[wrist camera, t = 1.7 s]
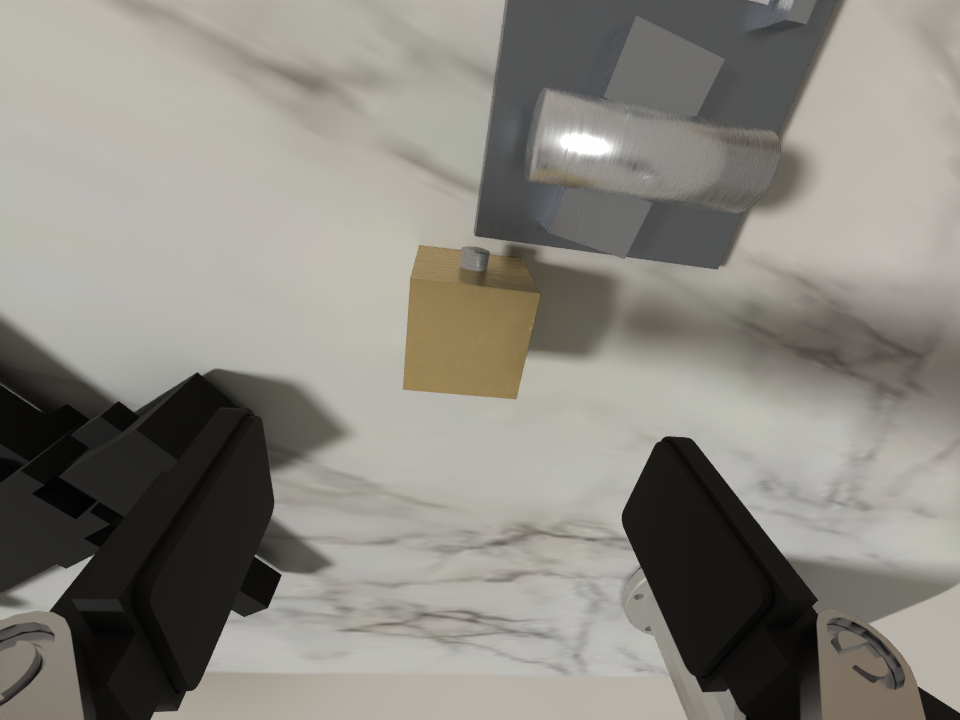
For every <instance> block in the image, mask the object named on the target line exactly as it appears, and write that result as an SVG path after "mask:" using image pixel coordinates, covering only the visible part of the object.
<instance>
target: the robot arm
mask: <svg viewBox="0 0 960 720" xmlns="http://www.w3.org/2000/svg"><path fill="white" fill-rule="evenodd" d="M273 508H274V495H273V489H272V482H271V476H270V470H269V463H268V457H267V450H266V444H265V437H264V431H263V424H262V419H261V418H260V417H259V416H254V414H253V412H252V410H250V409H240V408H225V407H222V408H219V409H218V410H217V411H216V412H215V414H214V415H213V416H212V418H211V419H210V420H209V421H208V423H207V424H206V425H205V427H204V428H203V429H202V430H201V432H200V433H199V434H198V436H197V437H196V438H195V440H194V441H193V442H192V443H191V445H190V446H189V447H188V449H187V450H186V451H185V453H184V454H183V455H182V456H181V458H180V459H179V460H178V462H177V463H176V464H175V465H174V467H173V468H168V469H166V470H164V471H162V472H161V473H160V474H159V475H158V476H157V477H156V478H155V480H154V481H153V482H152V483H151V485H150V486H149V487H148V488H147V490H146V491H145V492H144V493H143V495H142V496H141V497H140V499H139V500H138V501H137V502H136V504H135V505H134V506H133V507H132V509H131V510H130V511H129V512H128V514H127V515H126V516H125V517H124V519H123V520H122V521H121V522H120V524H119V525H118V526H117V527H116V529H115V530H114V531H113V532H112V534H111V535H110V536H109V537H108V539H107V540H106V541H105V542H104V544H103V545H102V546H101V547H100V549H99V550H98V551H97V552H96V554H95V555H94V556H93V557H92V559H91V560H90V561H89V563H88V564H87V565H86V566H85V568H84V569H83V570H82V571H81V573H80V574H79V575H78V576H77V578H76V579H75V580H74V581H73V583H72V584H71V585H70V586H69V588H68V589H67V590H66V591H65V593H64V594H63V595H62V596H61V598H60V599H59V600H58V601H57V603H56V604H55V605H54V606H53V608H52V609H51V610H50V611H49V612H43V611H34V612H29V613H23V614H18V615H14V616H12V617H9V618H6V619H4V620H1V621H0V720H150V719H151V717H152V715H153V713H154V712H163V711H177V710H178V708H179V706H180V704H181V701H182V699H183V697H184V695H185V693H186V691H192V690H194V689H195V688H196V687H197V686H198V684H199V683H200V681H201V679H202V677H203V674H204V672H205V670H206V667H207V665H208V663H209V660H210V658H211V656H212V653H213V651H214V649H215V646H216V644H217V642H218V639H219V637H220V635H221V632H222V630H223V628H224V625H225V623H226V621H227V618H228V616H229V614H230V611H231V609H232V607H233V605H234V602H235V600H236V598H237V595H238V593H239V591H240V588H241V586H242V584H243V581H244V579H245V577H246V574H247V572H248V570H249V567H250V565H251V563H252V560H253V558H254V556H255V553H256V551H257V549H258V546H259V544H260V542H261V539H262V537H263V535H264V532H265V530H266V528H267V525H268V523H269V521H270V518H271V516H272V513H273ZM622 524H623V527H624V530H625V532H626V534H627V536H628V539H629V541H630V543H631V545H632V548H633V550H634V552H635V554H636V557H637V559H638V561H639V563H640V566H641V568H640V569H639V570H638V571H637V572H636V573H635V574H634V575H633V576H632V577H631V578H630V580H629V581H628V583H627V585H626V586H625V588H624V591H623V594H622V605H623V608H624V611H625V614H626V617H627V619H628V620H629V622H630V623H631V624H632V625H633V626H634V627H635V628H637V629H639V630H640V631H642V632H644V633H647V634H651V635H654V637H655V640H656V642H657V645H658V647H659V650H660V652H661V655H662V657H663V659H664V662H665V664H666V667H667V669H668V672H669V674H670V677H671V679H672V682H673V684H674V687H675V689H676V692H677V694H678V697H679V699H680V702H681V704H682V706H683V709H684V711H685V714H686V716H687V719H688V720H960V713H959V712H957V711H956V710H954V709H952V708H951V707H949V706H948V705H946V704H945V703H943V702H941V701H940V700H938V699H937V698H935V697H934V696H932V695H930V694H929V693H927V692H926V691H924V690H923V689H921V688H920V687H918V686H917V683H916V680H915V678H914V675H913V672H912V670H911V668H910V666H909V665H908V664H907V662H906V661H905V659H904V658H903V656H902V655H901V653H900V652H899V651H898V650H897V649H896V648H895V647H894V646H893V645H892V643H891V642H890V641H889V640H888V639H886V638H885V637H884V636H883V635H882V634H881V633H879V632H878V631H877V630H876V629H875V628H873V627H872V626H870V625H869V624H867V623H866V622H864V621H863V620H861V619H860V618H858V617H856V616H853V615H851V614H849V613H847V612H844V611H840V610H835V609H829V610H823V611H822V612H821V613H820V614H819V615H818V614H817V613H816V611H815V610H814V609H813V607H812V606H813V605H814V604H815V603H816V602H817V601H818V599H817V598H816V597H815V596H814V594H813V593H812V592H811V591H810V589H809V588H808V587H807V585H806V584H805V583H804V582H803V580H802V579H801V578H800V576H799V575H798V574H797V573H796V571H795V570H794V569H793V567H792V566H791V565H790V564H789V562H788V561H787V560H786V559H785V557H784V556H783V555H782V553H781V552H780V551H779V550H778V548H777V547H776V546H775V544H774V543H773V542H772V541H771V539H770V538H769V537H768V535H767V534H766V533H765V532H764V530H763V529H762V528H761V526H760V525H759V524H758V523H757V521H756V520H755V519H754V518H753V516H752V515H751V514H750V512H749V511H748V510H747V509H746V507H745V506H744V505H743V503H742V502H741V501H740V500H739V498H738V497H737V496H736V494H735V493H734V492H733V491H732V489H731V488H730V487H729V486H728V484H727V483H726V482H725V480H724V479H723V478H722V477H721V475H720V474H719V473H718V471H717V470H716V469H715V468H714V466H713V465H712V464H711V462H710V461H709V460H708V459H707V457H706V456H705V455H704V453H703V452H702V451H701V450H700V448H699V447H698V446H697V445H696V443H695V442H694V441H693V440H692V439H690V438H685V437H670V436H668V437H664V438H663V439H662V440H661V442H658V443H656V445H655V446H654V448H653V450H652V452H651V455H650V457H649V459H648V461H647V463H646V465H645V467H644V469H643V471H642V473H641V475H640V477H639V479H638V481H637V483H636V485H635V487H634V490H633V492H632V494H631V496H630V498H629V500H628V502H627V504H626V506H625V508H624V510H623V513H622Z"/></svg>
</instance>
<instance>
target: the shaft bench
mask: <svg viewBox="0 0 960 720" xmlns="http://www.w3.org/2000/svg"><path fill="white" fill-rule="evenodd" d="M836 1H837V0H506V2H505V9H504V16H503V24H502V31H501V38H500V45H499V53H498V60H497V67H496V74H495V82H494V89H493V96H492V104H491V111H490V118H489V125H488V133H487V140H486V147H485V154H484V162H483V169H482V176H481V183H480V191H479V198H478V205H477V213H476V220H475V227H474V234H475V236H478V237H486V238H493V239H500V240H507V241H515V242H522V243H529V244H536V245H544V246H551V247H558V248H566V249H573V250H580V251H587V252H595V253H602V254H609V255H615V256H618V257H620V258H623V259H625V257H631V258H638V259H646V260H653V261H660V262H667V263H675V264H682V265H689V266H697V267H704V268H711V269H718V268H719V265H720V263H721V261H722V259H723V256H724V254H725V252H726V250H727V247H728V245H729V243H730V241H731V238H732V236H733V234H734V232H735V229H736V227H737V225H738V223H739V220H740V218H741V216H742V214H743V211H745V210H747V209H748V208H750V207H751V206H752V205H754V204H755V203H756V202H757V201H758V200H759V199H760V198H761V197H762V195H763V194H764V193H765V191H766V190H767V189H768V187H769V185H770V184H771V182H772V180H773V178H774V176H775V173H776V171H777V168H778V164H779V160H780V153H781V147H780V141H779V138H778V136H777V135H778V132H779V130H780V128H781V126H782V123H783V121H784V119H785V117H786V114H787V112H788V110H789V107H790V105H791V103H792V101H793V98H794V96H795V94H796V92H797V89H798V87H799V85H800V83H801V80H802V78H803V76H804V74H805V71H806V69H807V67H808V65H809V62H810V60H811V58H812V56H813V53H814V51H815V49H816V47H817V44H818V42H819V40H820V38H821V35H822V33H823V31H824V29H825V26H826V24H827V22H828V20H829V17H830V15H831V13H832V11H833V8H834V6H835V4H836Z"/></svg>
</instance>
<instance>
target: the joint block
mask: <svg viewBox="0 0 960 720" xmlns="http://www.w3.org/2000/svg"><path fill="white" fill-rule="evenodd" d="M540 295H541V293H540V291H539V290H538V288H537V286H536V284H535V282H534V281H533V279H532V277H531V275H530V273H529V272H528V270H527V268H526V266H525V265H524V263H523V261H522V259H520V258H513V257H505V256H498V255H490V252H489V251H488V250H486V249H483V248H478V247H463V248H462V251H460V250H452V249H445V248H437V247H429V246H422V245H419V247H418V251H417V255H416V259H415V263H414V266H413V270H412V274H411V278H410V293H409V308H408V323H407V338H406V353H405V368H404V383H403V390H414V391H426V392H438V393H450V394H461V395H473V396H485V397H497V398H508V399H516V398H517V394H518V389H519V385H520V381H521V376H522V372H523V368H524V364H525V359H526V355H527V351H528V346H529V342H530V338H531V334H532V329H533V325H534V321H535V316H536V312H537V308H538V303H539V299H540Z"/></svg>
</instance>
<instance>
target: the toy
mask: <svg viewBox="0 0 960 720" xmlns="http://www.w3.org/2000/svg"><path fill="white" fill-rule="evenodd" d="M222 407H225V408H238V407H237V406H235V405H234V404H233V403H232V402H231V401H230V400H229V399H227V398H226V397H225V396H224V395H223V394H222V393H221V392H219V391H218V390H217V389H216V388H215V387H214V386H213V385H211V384H210V383H209V382H208V381H207V380H206V379H205V378H203V377H202V376H201V375H200V374H199V373H198V372H197V373H196V374H194V375H193V376H191V377H189V378H188V379H186V380H185V381H183V382H181V383H180V384H178V385H177V386H175V387H174V388H172V389H170V390H169V391H167V392H166V393H164V394H162V395H161V396H159V397H158V398H156V399H155V400H153V401H151V402H150V403H148V404H147V405H145V406H143V407H142V408H140V409H139V410H137V411H136V412H132V411H131V410H130V409H128V408H127V407H126V406H124V405H123V404H122V403H120V402H119V401H118V402H117V403H115V404H114V405H112V406H111V407H109V408H107V409H106V410H104V411H103V412H101V413H100V414H98V415H97V416H95V417H94V418H92V419H91V420H89V419H87V418H86V417H84V416H83V415H82V414H80V413H79V412H77V411H76V410H75V409H73V408H72V407H70V406H69V405H65V406H64V407H62V408H61V409H59V410H58V411H56V412H55V413H53V414H52V415H50V416H49V417H47V416H46V415H44V414H43V413H41V412H40V411H38V410H37V409H35V408H34V407H33V406H31V405H30V404H28V403H27V402H25V401H24V400H22V399H21V398H19V397H18V396H16V395H15V394H13V393H12V392H10V391H9V390H7V389H6V388H4V387H3V386H1V385H0V593H1V592H3V591H5V590H7V589H9V588H11V587H13V586H15V585H17V584H19V583H21V582H23V581H24V580H26V579H28V578H30V577H32V576H34V575H36V574H38V573H40V572H42V571H44V570H46V569H48V568H49V567H51V566H53V565H55V564H58V565H60V566H62V567H64V568H66V569H67V568H68V567H70V566H72V565H74V564H76V563H78V562H80V561H82V560H84V559H86V558H88V557H90V556H92V555H94V554H96V552H97V551H98V550H99V549H100V547H101V546H102V545H103V544H104V542H105V541H106V540H107V539H108V537H109V536H110V535H111V534H112V532H113V531H114V530H115V529H116V527H117V526H118V525H119V524H120V522H121V521H122V520H123V519H124V517H125V516H126V515H127V514H128V512H129V511H130V510H131V509H132V507H133V506H134V505H135V504H136V502H137V501H138V500H139V499H140V497H141V496H142V495H143V493H144V492H145V491H146V490H147V488H148V487H149V486H150V485H151V483H152V482H153V481H154V480H155V478H156V477H157V476H158V475H159V474H160V473H161V472H162V471H164V470H166V469H168V468H173V467H174V465H175V464H176V463H177V462H178V460H179V459H180V458H181V456H182V455H183V454H184V453H185V451H186V450H187V449H188V447H189V446H190V445H191V443H192V442H193V441H194V440H195V438H196V437H197V436H198V434H199V433H200V432H201V430H202V429H203V428H204V427H205V425H206V424H207V423H208V421H209V420H210V419H211V418H212V416H213V415H214V414H215V412H216V411H217V410H218V409H219V408H222ZM281 576H282V575H281V574H280V573H278V572H277V571H275V570H274V569H272V568H271V567H269V566H268V565H266V564H265V563H263V562H262V561H260V560H259V559H257V558H256V557H254V558H253V560H252V563H251V565H250V567H249V570H248V572H247V574H246V577H245V579H244V581H243V584H242V586H241V588H240V591H239V593H238V595H237V598H236V600H235V602H234V605H233V607H232V609H231V610H233V611H235V612H236V613H238V614H240V615H241V616H243V617H245V616H248V615H251V614H253V613H256V612H258V611H261V610H264V609H266V608H268V607H269V604H270V602H271V599H272V597H273V595H274V592H275V590H276V588H277V585H278V583H279V581H280V578H281Z"/></svg>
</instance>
